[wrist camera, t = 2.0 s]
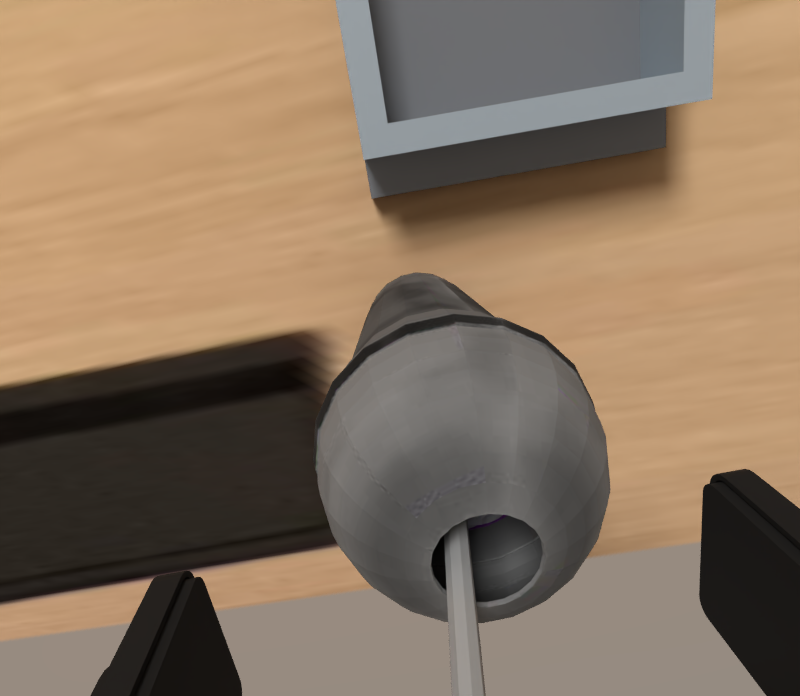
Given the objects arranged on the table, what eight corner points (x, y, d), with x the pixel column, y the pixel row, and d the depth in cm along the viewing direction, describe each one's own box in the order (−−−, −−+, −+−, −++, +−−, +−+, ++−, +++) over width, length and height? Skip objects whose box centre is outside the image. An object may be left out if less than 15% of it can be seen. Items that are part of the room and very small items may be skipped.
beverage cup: (528, 330, 25) (1021, 874, 6) (406, 421, 26) (498, 1106, 7) (432, 205, 23) (729, 440, 4) (305, 311, 24) (62, 874, 5)
